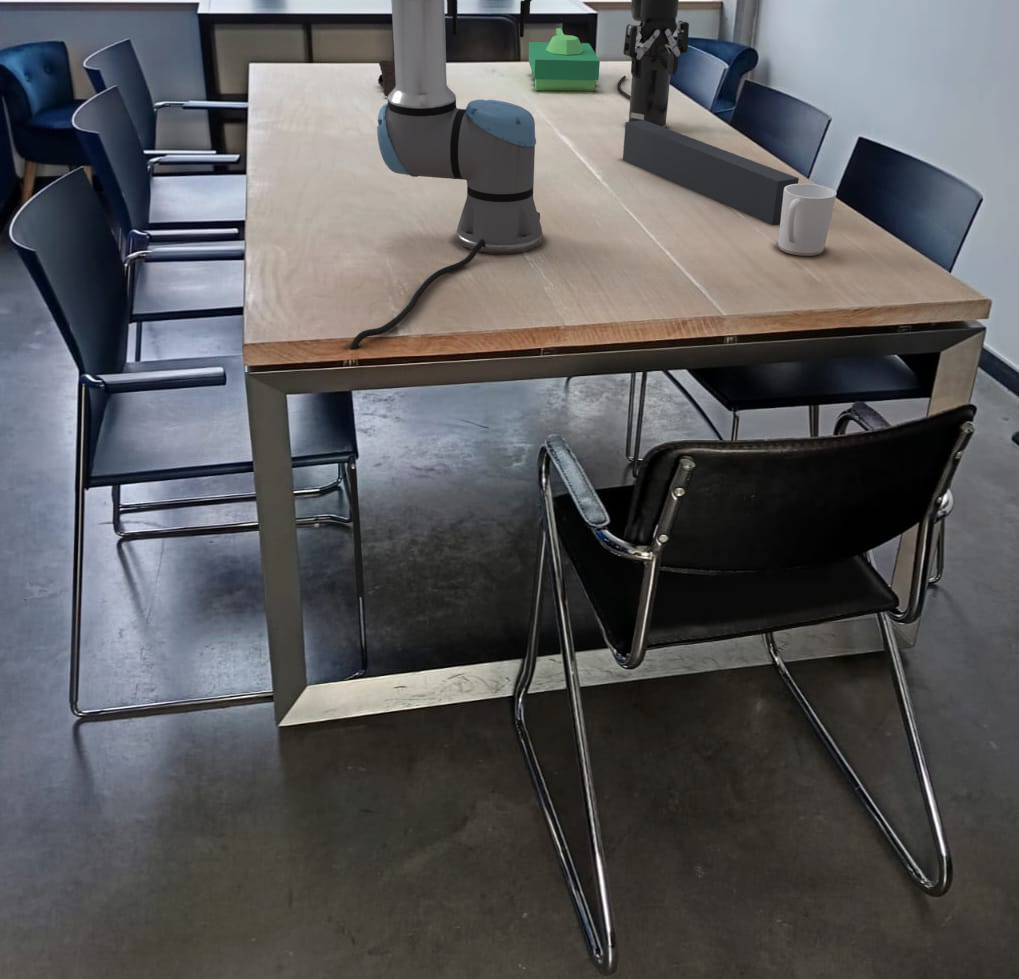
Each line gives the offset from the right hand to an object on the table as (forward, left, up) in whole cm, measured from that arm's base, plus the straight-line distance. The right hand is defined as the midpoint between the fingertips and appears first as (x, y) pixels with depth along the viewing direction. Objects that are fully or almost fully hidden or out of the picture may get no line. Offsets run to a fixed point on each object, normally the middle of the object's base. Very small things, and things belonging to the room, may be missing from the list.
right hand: (653, 76), depth 231 cm
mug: (+52, +28, -19) cm, 62 cm away
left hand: (+9, -34, +8) cm, 36 cm away
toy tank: (-87, -26, -19) cm, 93 cm away
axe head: (-63, -68, -19) cm, 94 cm away
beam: (+16, +12, -19) cm, 27 cm away
